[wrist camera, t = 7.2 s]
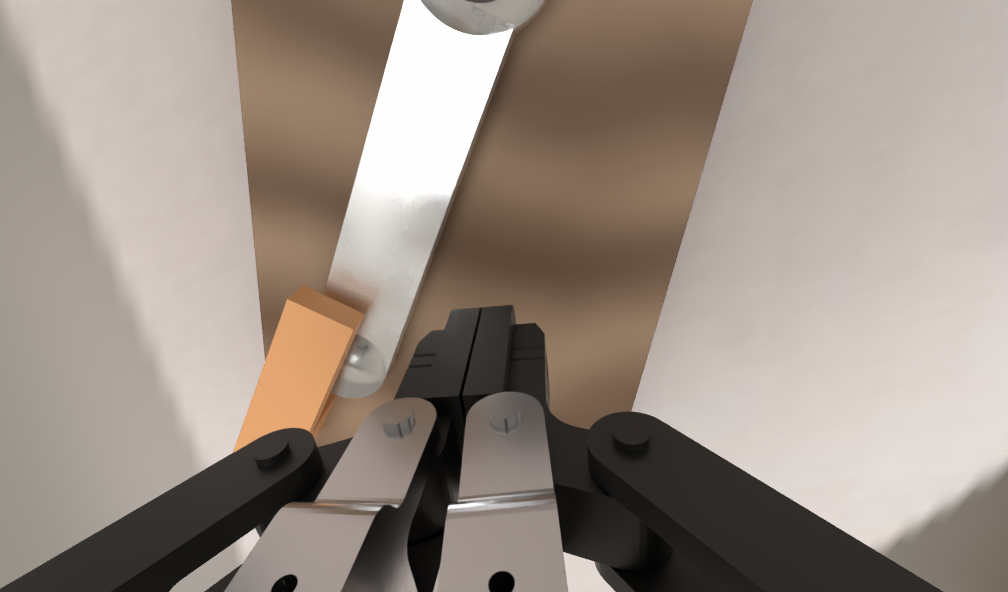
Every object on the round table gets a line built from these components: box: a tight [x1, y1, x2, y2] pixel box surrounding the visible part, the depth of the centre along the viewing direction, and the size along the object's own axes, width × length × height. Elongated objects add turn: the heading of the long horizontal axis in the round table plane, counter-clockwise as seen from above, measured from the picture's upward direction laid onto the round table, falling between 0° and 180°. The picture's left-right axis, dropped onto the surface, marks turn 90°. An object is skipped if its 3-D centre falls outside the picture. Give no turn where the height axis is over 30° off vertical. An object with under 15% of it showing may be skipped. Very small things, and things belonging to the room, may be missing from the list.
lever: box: [324, 0, 548, 398], centre depth 17 cm, size 19×4×2 cm, turn 158°
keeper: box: [233, 285, 365, 453], centre depth 20 cm, size 9×2×4 cm, turn 153°
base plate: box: [231, 0, 753, 447], centre depth 18 cm, size 25×17×5 cm
